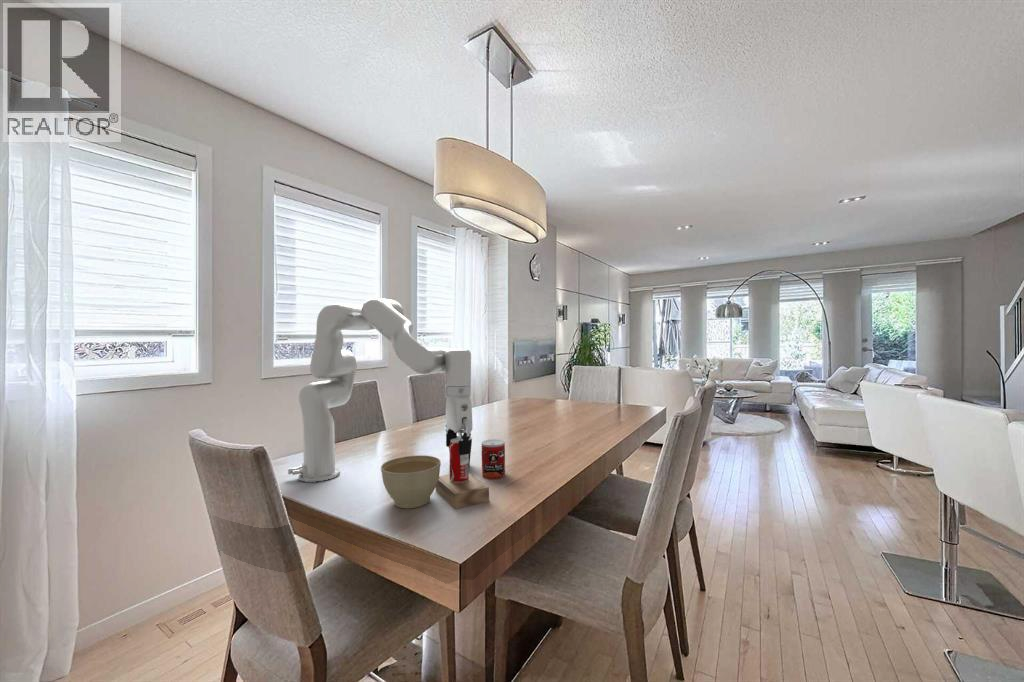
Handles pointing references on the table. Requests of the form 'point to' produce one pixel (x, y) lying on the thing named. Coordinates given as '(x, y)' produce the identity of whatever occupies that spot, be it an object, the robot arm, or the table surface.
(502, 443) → the canned food
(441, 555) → the table surface
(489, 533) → the table surface
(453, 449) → the soda can
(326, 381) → the robot arm
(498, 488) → the table surface
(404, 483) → the planter bowl
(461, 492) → the wooden tray
